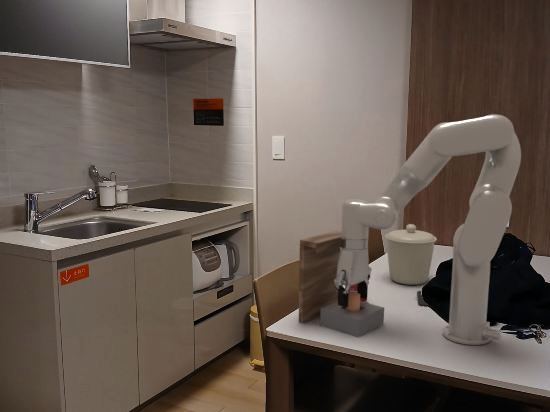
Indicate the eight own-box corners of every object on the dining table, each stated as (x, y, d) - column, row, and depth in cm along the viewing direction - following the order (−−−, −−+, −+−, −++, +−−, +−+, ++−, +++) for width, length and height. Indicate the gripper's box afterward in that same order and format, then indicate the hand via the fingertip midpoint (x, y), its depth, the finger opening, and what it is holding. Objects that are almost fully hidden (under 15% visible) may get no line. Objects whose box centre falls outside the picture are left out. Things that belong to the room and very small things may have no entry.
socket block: (383, 324, 162) (384, 307, 161) (358, 337, 152) (359, 319, 151) (346, 313, 170) (346, 297, 169) (320, 325, 161) (320, 308, 160)
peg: (350, 320, 164) (351, 291, 163) (361, 324, 161) (362, 294, 160) (342, 324, 161) (343, 294, 160) (354, 328, 158) (355, 297, 157)
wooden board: (352, 311, 172) (354, 233, 168) (316, 327, 158) (318, 243, 154) (334, 306, 176) (336, 230, 172) (298, 322, 163) (299, 239, 159)
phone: (439, 292, 190) (442, 306, 176) (439, 294, 190) (442, 308, 176) (416, 290, 192) (418, 304, 177) (416, 292, 192) (417, 306, 177)
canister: (444, 285, 199) (448, 227, 195) (401, 291, 192) (404, 230, 189) (414, 272, 215) (417, 218, 212) (373, 276, 209) (376, 221, 205)
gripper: (360, 236, 166) (358, 292, 169) (325, 246, 153) (324, 306, 156) (382, 240, 161) (380, 297, 164) (348, 251, 148) (346, 312, 151)
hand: (352, 301), depth 160 cm, fingers open, 9 cm apart
